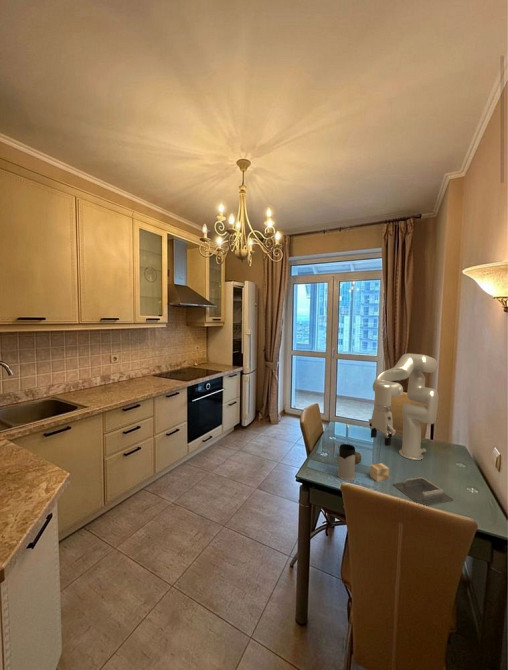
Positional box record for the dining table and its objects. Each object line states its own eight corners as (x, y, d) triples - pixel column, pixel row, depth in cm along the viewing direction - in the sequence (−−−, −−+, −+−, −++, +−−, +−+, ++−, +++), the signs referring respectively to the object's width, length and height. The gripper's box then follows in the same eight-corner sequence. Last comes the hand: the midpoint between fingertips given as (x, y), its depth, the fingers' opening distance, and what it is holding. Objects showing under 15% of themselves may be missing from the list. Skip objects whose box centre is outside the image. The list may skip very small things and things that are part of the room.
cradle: (422, 480, 135) (422, 473, 135) (453, 500, 120) (453, 492, 120) (392, 485, 130) (393, 477, 130) (421, 506, 115) (422, 498, 115)
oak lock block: (381, 474, 140) (381, 463, 140) (388, 479, 135) (389, 468, 135) (369, 476, 138) (370, 464, 138) (376, 481, 133) (377, 469, 133)
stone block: (356, 465, 149) (357, 456, 149) (338, 457, 157) (338, 448, 157) (361, 461, 152) (362, 453, 152) (343, 454, 161) (343, 446, 161)
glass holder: (345, 482, 131) (347, 452, 131) (326, 467, 144) (328, 440, 144) (359, 478, 135) (360, 449, 134) (339, 465, 148) (340, 438, 147)
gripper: (402, 412, 128) (400, 448, 128) (376, 402, 144) (374, 434, 145) (389, 413, 126) (387, 449, 126) (364, 403, 142) (362, 435, 143)
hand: (380, 441), depth 135 cm, fingers open, 9 cm apart
